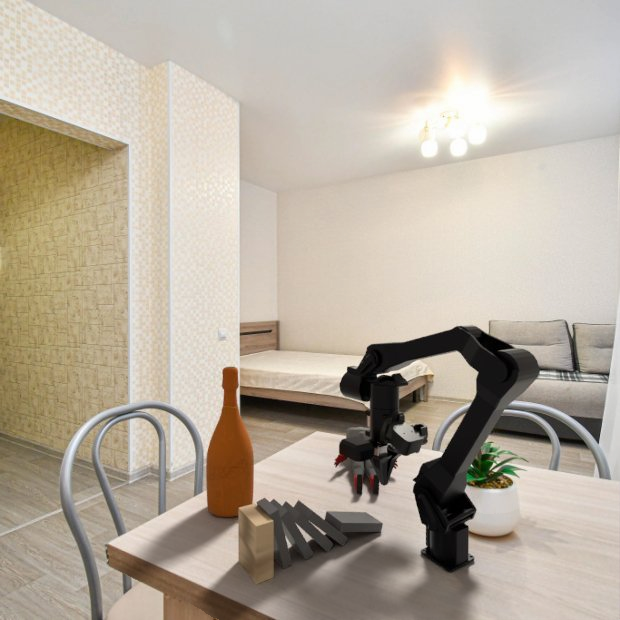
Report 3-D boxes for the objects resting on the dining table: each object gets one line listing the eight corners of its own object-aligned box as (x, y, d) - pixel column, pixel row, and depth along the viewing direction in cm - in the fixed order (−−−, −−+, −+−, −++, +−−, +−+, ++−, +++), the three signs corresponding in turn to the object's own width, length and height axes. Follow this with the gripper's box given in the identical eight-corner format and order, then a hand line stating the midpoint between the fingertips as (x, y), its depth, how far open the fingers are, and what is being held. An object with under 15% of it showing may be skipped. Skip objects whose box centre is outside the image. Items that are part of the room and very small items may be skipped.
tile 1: (382, 523, 81) (342, 522, 76) (381, 531, 81) (340, 532, 76) (366, 512, 85) (326, 511, 80) (364, 520, 85) (324, 519, 80)
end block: (273, 577, 67) (273, 521, 67) (256, 584, 66) (256, 526, 66) (254, 555, 73) (254, 503, 73) (238, 560, 72) (238, 507, 71)
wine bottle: (263, 506, 91) (263, 366, 90) (227, 525, 83) (226, 372, 82) (233, 493, 97) (232, 362, 96) (196, 509, 89) (196, 367, 89)
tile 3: (333, 543, 75) (300, 513, 71) (327, 552, 74) (294, 521, 70) (317, 530, 79) (285, 500, 75) (312, 538, 78) (279, 508, 75)
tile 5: (292, 563, 70) (278, 509, 69) (283, 569, 69) (269, 514, 68) (277, 548, 74) (264, 497, 73) (270, 553, 74) (256, 502, 72)
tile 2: (347, 537, 77) (313, 511, 72) (342, 546, 76) (307, 520, 72) (331, 525, 81) (298, 499, 77) (327, 533, 80) (293, 507, 76)
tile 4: (313, 553, 72) (287, 510, 70) (306, 560, 72) (280, 517, 69) (298, 539, 77) (273, 498, 74) (291, 546, 76) (266, 505, 73)
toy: (334, 475, 96) (334, 416, 126) (334, 512, 98) (333, 445, 127) (405, 477, 95) (388, 417, 125) (403, 514, 97) (387, 447, 127)
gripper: (377, 423, 72) (377, 514, 72) (448, 408, 82) (448, 488, 83) (337, 409, 81) (337, 490, 82) (405, 397, 92) (405, 469, 92)
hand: (383, 484), depth 84 cm, fingers closed
